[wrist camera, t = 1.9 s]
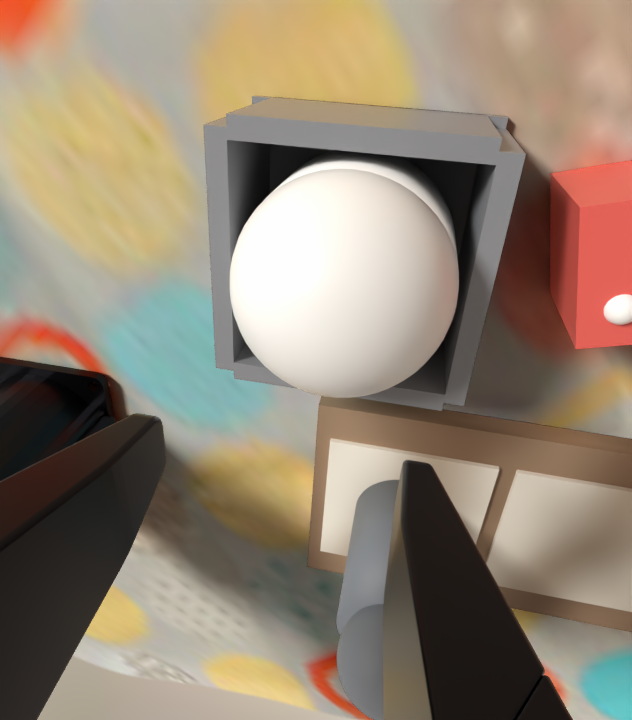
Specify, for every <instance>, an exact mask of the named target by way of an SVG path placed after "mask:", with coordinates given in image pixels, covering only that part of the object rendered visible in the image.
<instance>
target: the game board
mask: <svg viewBox="0 0 632 720" xmlns="http://www.w3.org/2000/svg"><path fill="white" fill-rule="evenodd" d="M405 460H413V461H419V462H425V463H429V464H430V465H432V467H433V468H434V470H435V472H436V474H437V476H438V477H439V479H440V481H441V483H442V485H443V486H444V488H445V490H446V492H447V494H448V495H449V497H450V499H451V501H452V503H453V505H454V506H455V508H456V510H457V512H458V514H459V515H460V517H461V519H462V521H463V523H464V524H465V526H466V528H467V530H468V532H469V533H470V535H471V537H472V539H473V541H474V543H475V544H476V546H477V548H478V550H479V552H480V553H481V555H482V557H483V559H484V561H485V562H486V564H487V566H488V568H489V570H490V571H491V573H492V575H493V577H494V579H495V581H496V582H497V584H498V586H499V588H500V590H501V591H502V593H503V595H504V597H505V599H506V600H507V602H508V604H509V606H510V608H515V609H520V610H525V611H530V612H535V613H540V614H545V615H550V616H555V617H560V618H565V619H570V620H575V621H579V622H584V623H589V624H594V625H599V626H604V627H609V628H614V629H619V630H624V631H629V632H632V439H628V438H621V437H615V436H608V435H602V434H595V433H589V432H583V431H576V430H570V429H563V428H557V427H550V426H544V425H538V424H531V423H525V422H518V421H512V420H506V419H499V418H493V417H486V416H480V415H473V414H467V413H461V412H454V411H448V410H442V411H439V410H432V409H426V408H420V407H413V406H407V405H400V404H394V403H388V402H381V401H375V400H368V399H362V398H356V397H352V398H335V397H325V396H322V397H321V400H320V403H319V410H318V424H317V438H316V452H315V466H314V480H313V494H312V508H311V522H310V536H309V550H308V564H307V567H311V568H316V569H321V570H326V571H331V572H336V573H341V574H344V572H345V566H346V560H347V555H348V549H349V543H350V537H351V532H352V526H353V520H354V514H355V508H356V503H357V500H358V498H359V496H360V495H361V494H362V493H363V491H364V490H366V489H367V488H368V487H370V486H372V485H374V484H376V483H379V482H382V481H387V480H399V479H400V473H401V468H402V464H403V462H404V461H405Z"/></svg>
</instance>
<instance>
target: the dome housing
mask: <svg viewBox="0 0 632 720" xmlns="http://www.w3.org/2000/svg"><path fill="white" fill-rule="evenodd" d="M507 122H508V117H507V116H497V115H485V114H472V113H460V112H448V111H436V110H424V109H412V108H399V107H387V106H375V105H363V104H351V103H338V102H326V101H314V100H302V99H290V98H277V97H265V96H252V105H250V106H247V107H244V108H241V109H238V110H235V111H233V112H230V113H227V114H226V117H224V118H221V119H218V120H216V121H213V122H210V123H207V124H205V125H204V144H205V164H206V183H207V203H208V223H209V242H210V262H211V282H212V301H213V321H214V341H215V360H216V368H220V369H226V370H233V371H234V379H240V380H247V381H253V382H259V383H266V384H272V385H279V386H285V387H291V388H296V387H294V386H292V385H290V384H288V383H286V382H285V381H283V380H281V379H280V378H279V377H277V376H276V375H275V374H273V373H272V372H271V371H270V370H269V369H268V368H266V367H265V366H264V365H263V364H262V363H261V362H260V361H259V359H258V358H257V357H256V356H255V355H254V354H253V352H252V351H251V350H250V348H249V347H248V345H247V344H246V342H245V340H244V338H243V336H242V334H241V332H240V330H239V327H238V325H237V322H236V319H235V317H234V313H233V309H232V305H231V298H230V267H231V262H232V256H233V253H234V250H235V247H236V244H237V241H238V238H239V235H240V233H241V231H242V229H243V227H244V225H245V224H246V222H247V221H248V219H249V218H250V216H251V215H252V214H253V212H254V211H255V209H256V208H257V207H258V206H259V205H260V204H261V203H262V202H263V201H264V199H265V198H266V197H267V196H268V195H269V194H271V193H272V192H273V191H274V190H275V189H276V188H277V187H278V186H279V185H280V184H281V183H282V182H283V181H285V180H286V179H287V178H288V177H289V176H290V175H291V174H292V173H293V172H294V171H296V170H297V169H298V168H299V167H301V166H302V165H303V164H305V163H306V162H308V161H310V160H311V159H313V158H315V157H317V156H319V155H322V154H324V153H327V152H330V151H334V150H340V151H351V152H361V153H372V154H382V155H393V156H399V157H401V158H403V159H405V160H407V161H409V162H410V163H412V164H413V165H415V166H416V167H418V168H419V169H420V170H421V171H422V172H423V173H425V174H426V175H427V176H428V177H429V178H430V179H431V181H432V182H433V183H434V184H435V185H436V186H437V188H438V189H439V191H440V192H441V194H442V196H443V197H444V199H445V201H446V203H447V205H448V208H449V210H450V213H451V216H452V220H453V224H454V230H455V238H456V248H457V259H458V269H459V290H458V298H457V306H456V309H455V313H454V316H453V320H452V322H451V324H450V327H449V329H448V331H447V333H446V336H445V338H444V340H443V341H442V343H441V344H440V346H439V347H438V349H437V350H436V352H435V353H434V354H433V355H432V356H431V357H430V359H429V360H428V361H427V362H426V363H425V364H424V365H423V366H422V367H421V368H420V369H419V370H418V371H417V372H415V373H414V374H413V375H411V376H410V377H408V378H407V379H405V380H404V381H402V382H400V383H399V384H397V385H395V386H393V387H391V388H389V389H386V390H384V391H381V392H378V393H375V394H371V395H366V396H360V397H356V398H362V399H368V400H375V401H381V402H388V403H394V404H400V405H407V406H413V407H420V408H426V409H432V410H439V411H442V408H443V403H447V404H453V405H460V406H464V403H465V399H466V395H467V391H468V387H469V383H470V379H471V375H472V371H473V367H474V363H475V359H476V355H477V350H478V346H479V342H480V338H481V334H482V330H483V326H484V322H485V318H486V314H487V310H488V306H489V302H490V298H491V294H492V290H493V286H494V282H495V278H496V274H497V270H498V265H499V261H500V257H501V253H502V249H503V245H504V241H505V237H506V233H507V229H508V225H509V221H510V217H511V213H512V209H513V205H514V201H515V197H516V193H517V189H518V185H519V180H520V176H521V172H522V168H523V164H524V160H525V156H526V154H525V152H524V151H523V150H522V148H521V147H520V146H519V145H518V143H517V142H516V141H515V139H514V138H513V137H512V136H511V134H510V133H509V132H508V131H507V129H506V126H507Z"/></svg>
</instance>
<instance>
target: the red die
mask: <svg viewBox="0 0 632 720" xmlns="http://www.w3.org/2000/svg"><path fill="white" fill-rule="evenodd" d="M550 293H551V296H552V298H553V300H554V302H555V305H556V307H557V309H558V311H559V313H560V316H561V318H562V320H563V322H564V325H565V327H566V329H567V331H568V333H569V336H570V338H571V340H572V342H573V345H574V347H575V349H583V348H596V347H609V346H621V345H632V160H631V161H624V162H618V163H612V164H606V165H599V166H593V167H587V168H581V169H574V170H568V171H562V172H556V173H551V203H550Z"/></svg>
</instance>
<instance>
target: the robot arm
mask: <svg viewBox="0 0 632 720" xmlns="http://www.w3.org/2000/svg"><path fill="white" fill-rule="evenodd" d="M93 382H95V383H96V384H97V385H98V386H97V385H95V384H94V383H93ZM165 464H166V450H165V441H164V433H163V425H162V422H161V420H160V419H159V418H158V417H156V416H151V415H145V414H132V415H130V416H128V417H126V418H124V419H122V420H120V421H118V422H116V420H115V418H114V413H113V408H112V402H111V396H110V391H109V385H108V382H107V379H106V378H105V377H104V376H103V375H101V374H100V373H97V372H91V371H85V370H79V369H72V368H66V367H60V366H54V365H48V364H41V363H35V362H29V361H23V360H16V359H10V358H4V357H0V720H37V719H38V717H39V715H40V713H41V711H42V710H43V708H44V706H45V704H46V702H47V701H48V699H49V697H50V695H51V693H52V692H53V690H54V688H55V686H56V684H57V682H58V681H59V679H60V677H61V675H62V673H63V672H64V670H65V668H66V666H67V664H68V663H69V661H70V659H71V657H72V655H73V654H74V652H75V650H76V648H77V646H78V645H79V643H80V641H81V639H82V637H83V636H84V634H85V632H86V630H87V628H88V627H89V625H90V623H91V621H92V619H93V618H94V616H95V614H96V612H97V610H98V609H99V607H100V605H101V603H102V601H103V600H104V598H105V596H106V594H107V592H108V590H109V589H110V587H111V585H112V583H113V581H114V580H115V578H116V576H117V574H118V572H119V571H120V569H121V567H122V565H123V563H124V561H125V559H126V557H127V555H128V554H129V551H130V549H131V547H132V545H133V542H134V540H135V538H136V535H137V533H138V531H139V528H140V526H141V524H142V521H143V519H144V516H145V514H146V512H147V509H148V507H149V504H150V502H151V500H152V497H153V495H154V493H155V490H156V488H157V485H158V483H159V481H160V478H161V476H162V473H163V471H164V468H165ZM544 673H545V670H544V667H543V666H542V664H541V662H540V660H539V658H538V657H537V655H536V653H535V651H534V649H533V648H532V646H531V644H530V642H529V640H528V638H527V637H526V635H525V633H524V631H523V629H522V628H521V626H520V624H519V622H518V620H517V619H516V617H515V615H514V613H513V611H512V609H511V608H510V606H509V604H508V602H507V600H506V599H505V597H504V595H503V593H502V591H501V590H500V588H499V586H498V584H497V582H496V581H495V579H494V577H493V575H492V573H491V571H490V570H489V568H488V566H487V564H486V562H485V561H484V559H483V557H482V555H481V553H480V552H479V550H478V548H477V546H476V544H475V543H474V541H473V539H472V537H471V535H470V533H469V532H468V530H467V528H466V526H465V524H464V523H463V521H462V519H461V517H460V515H459V514H458V512H457V510H456V508H455V506H454V505H453V503H452V501H451V499H450V497H449V495H448V494H447V492H446V490H445V488H444V486H443V485H442V483H441V481H440V479H439V477H438V476H437V474H436V472H435V470H434V468H433V467H432V465H430V464H429V463H425V462H419V461H413V460H405V461H404V462H403V464H402V468H401V473H400V479H399V484H398V489H397V495H396V500H395V507H394V514H393V523H392V531H391V540H390V549H389V557H388V566H387V574H386V583H385V592H384V604H383V720H573V719H572V717H571V716H570V714H569V712H568V711H567V709H566V707H565V705H564V703H563V702H562V700H561V698H560V696H559V694H558V692H557V691H556V689H555V687H554V685H553V683H552V681H551V680H550V678H549V677H548V676H546V675H544ZM543 675H544V676H543Z"/></svg>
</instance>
